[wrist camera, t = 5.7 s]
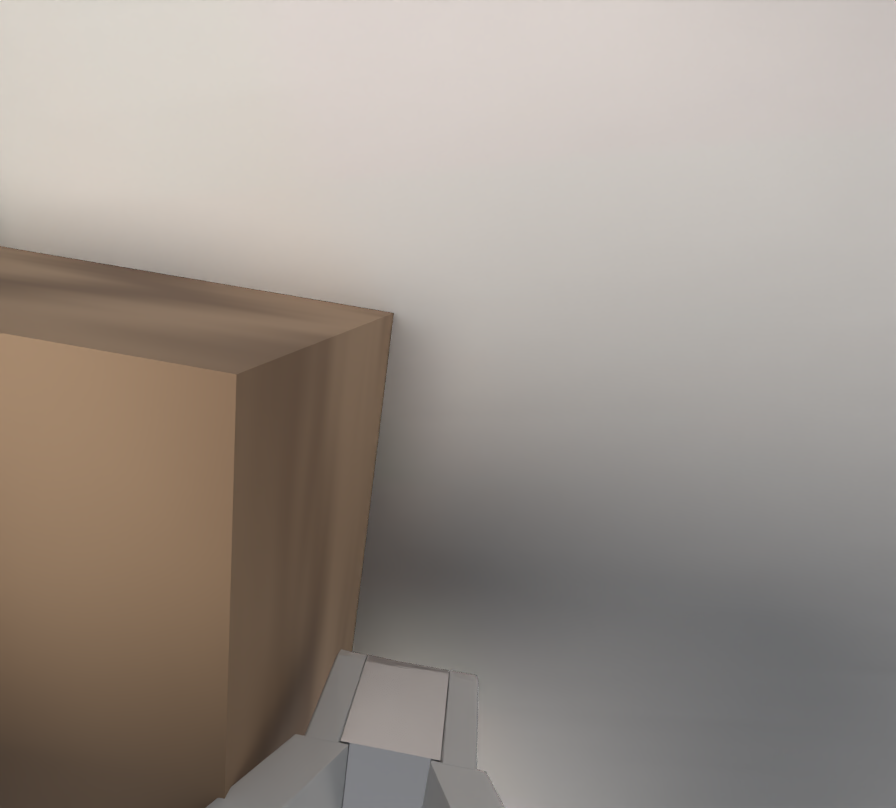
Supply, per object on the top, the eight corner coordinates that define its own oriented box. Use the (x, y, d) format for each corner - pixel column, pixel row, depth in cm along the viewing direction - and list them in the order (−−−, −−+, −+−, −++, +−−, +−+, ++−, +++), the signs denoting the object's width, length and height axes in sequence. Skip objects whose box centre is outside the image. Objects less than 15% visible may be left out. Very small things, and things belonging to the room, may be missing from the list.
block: (394, 313, 11) (236, 374, 4) (345, 704, 14) (216, 1099, 7) (-12, 244, 11) (-793, 192, 4) (35, 642, 14) (-361, 963, 8)
